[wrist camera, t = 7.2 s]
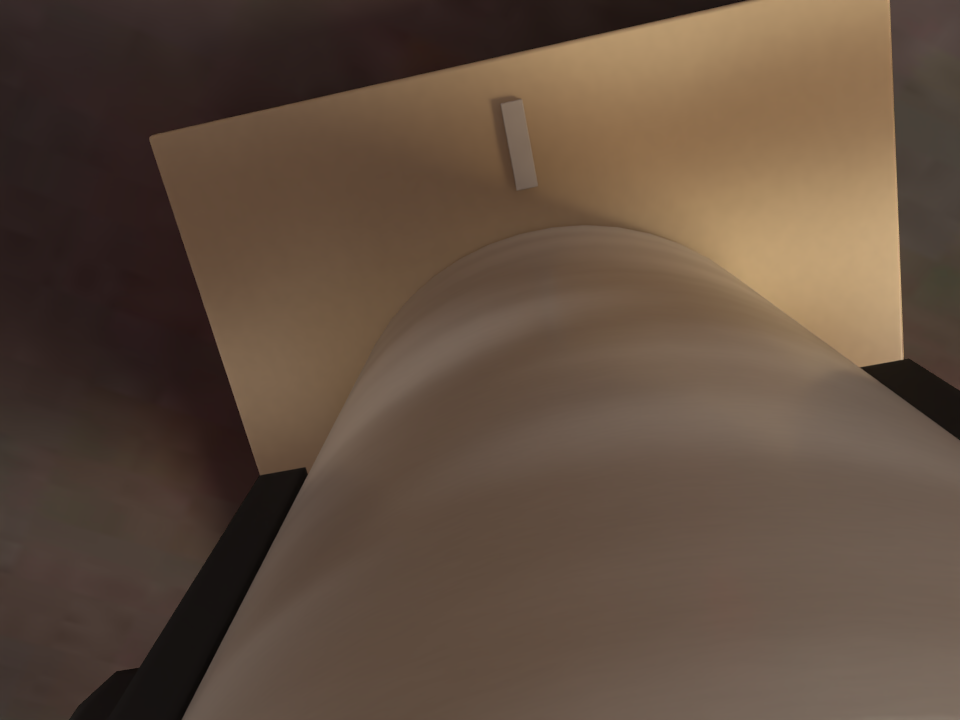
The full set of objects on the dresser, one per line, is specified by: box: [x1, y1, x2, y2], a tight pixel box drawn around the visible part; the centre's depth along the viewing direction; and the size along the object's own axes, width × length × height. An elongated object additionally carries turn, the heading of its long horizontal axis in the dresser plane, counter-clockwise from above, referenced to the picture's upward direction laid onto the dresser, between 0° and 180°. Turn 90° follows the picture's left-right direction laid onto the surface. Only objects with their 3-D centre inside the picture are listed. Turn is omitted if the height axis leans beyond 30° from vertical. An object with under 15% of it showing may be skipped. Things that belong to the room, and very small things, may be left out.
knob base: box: [149, 0, 904, 475], centre depth 15 cm, size 14×13×3 cm
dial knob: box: [182, 225, 960, 720], centre depth 9 cm, size 8×8×11 cm
